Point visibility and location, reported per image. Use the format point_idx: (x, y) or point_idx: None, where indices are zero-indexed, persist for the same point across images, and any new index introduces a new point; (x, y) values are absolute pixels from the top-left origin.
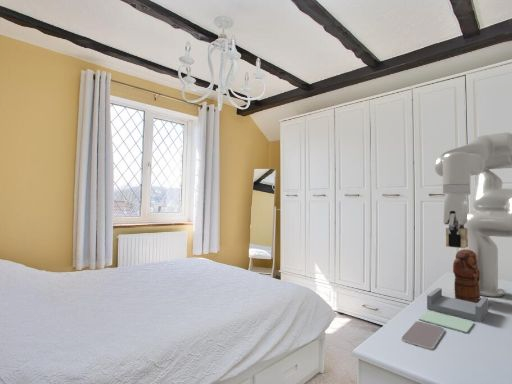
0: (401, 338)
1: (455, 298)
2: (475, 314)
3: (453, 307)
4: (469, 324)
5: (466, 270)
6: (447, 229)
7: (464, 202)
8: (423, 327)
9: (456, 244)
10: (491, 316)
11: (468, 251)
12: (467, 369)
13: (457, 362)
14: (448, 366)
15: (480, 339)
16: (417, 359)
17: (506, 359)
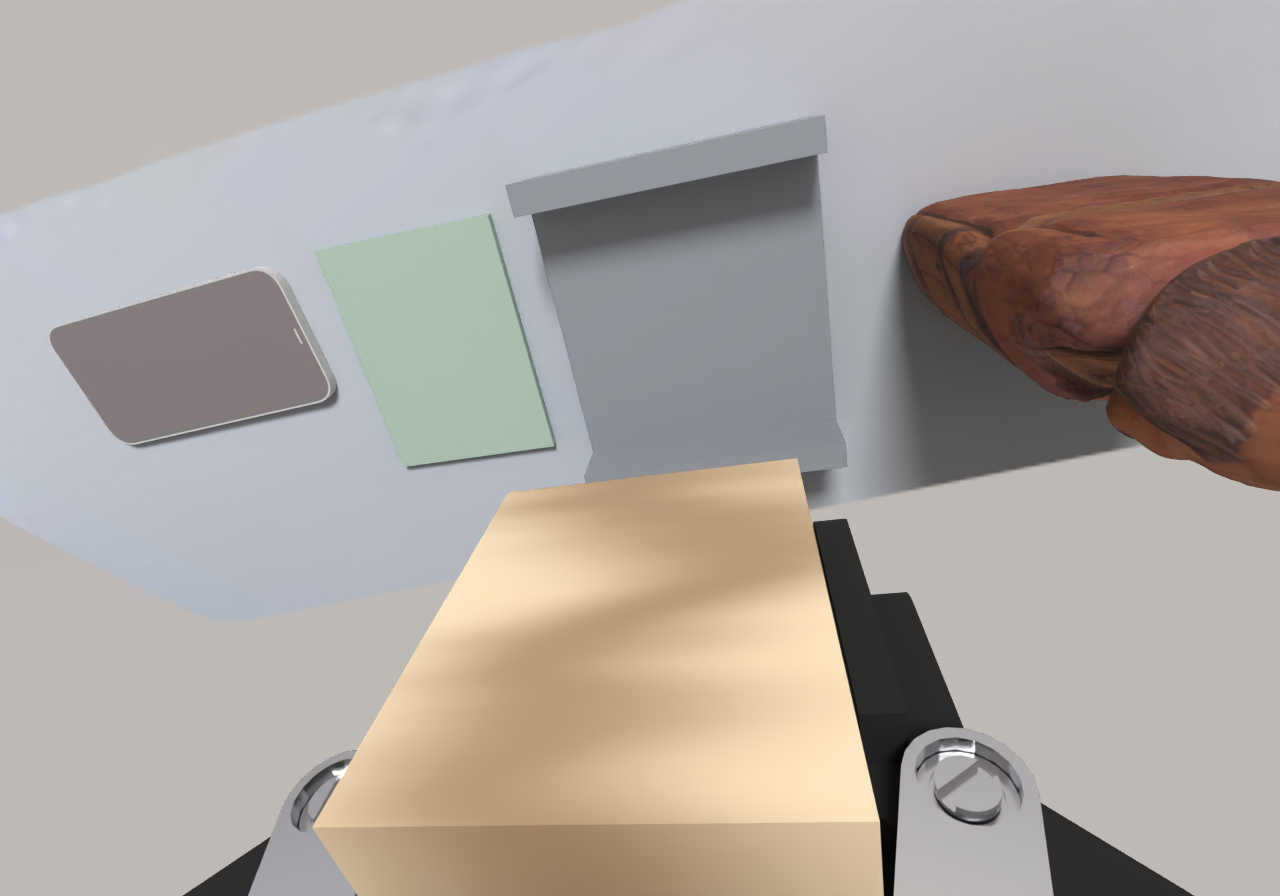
0: (49, 332)
1: (921, 211)
2: (593, 452)
3: (599, 334)
4: (502, 443)
5: (1049, 361)
6: (351, 817)
7: None
8: (236, 333)
9: None
10: None
11: None
12: (149, 553)
13: (152, 523)
14: (101, 516)
15: (403, 512)
16: (23, 442)
17: (333, 600)
